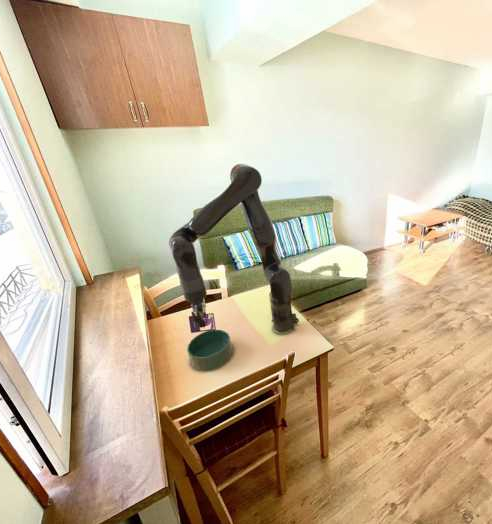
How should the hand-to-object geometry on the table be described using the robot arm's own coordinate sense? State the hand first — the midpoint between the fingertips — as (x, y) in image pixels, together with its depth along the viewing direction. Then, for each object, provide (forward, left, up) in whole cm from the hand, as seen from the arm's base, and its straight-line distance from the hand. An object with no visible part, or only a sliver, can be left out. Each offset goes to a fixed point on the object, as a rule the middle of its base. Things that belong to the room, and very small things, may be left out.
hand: (203, 322), depth 109 cm
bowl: (0, 0, -17) cm, 17 cm away
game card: (0, 0, -2) cm, 2 cm away
